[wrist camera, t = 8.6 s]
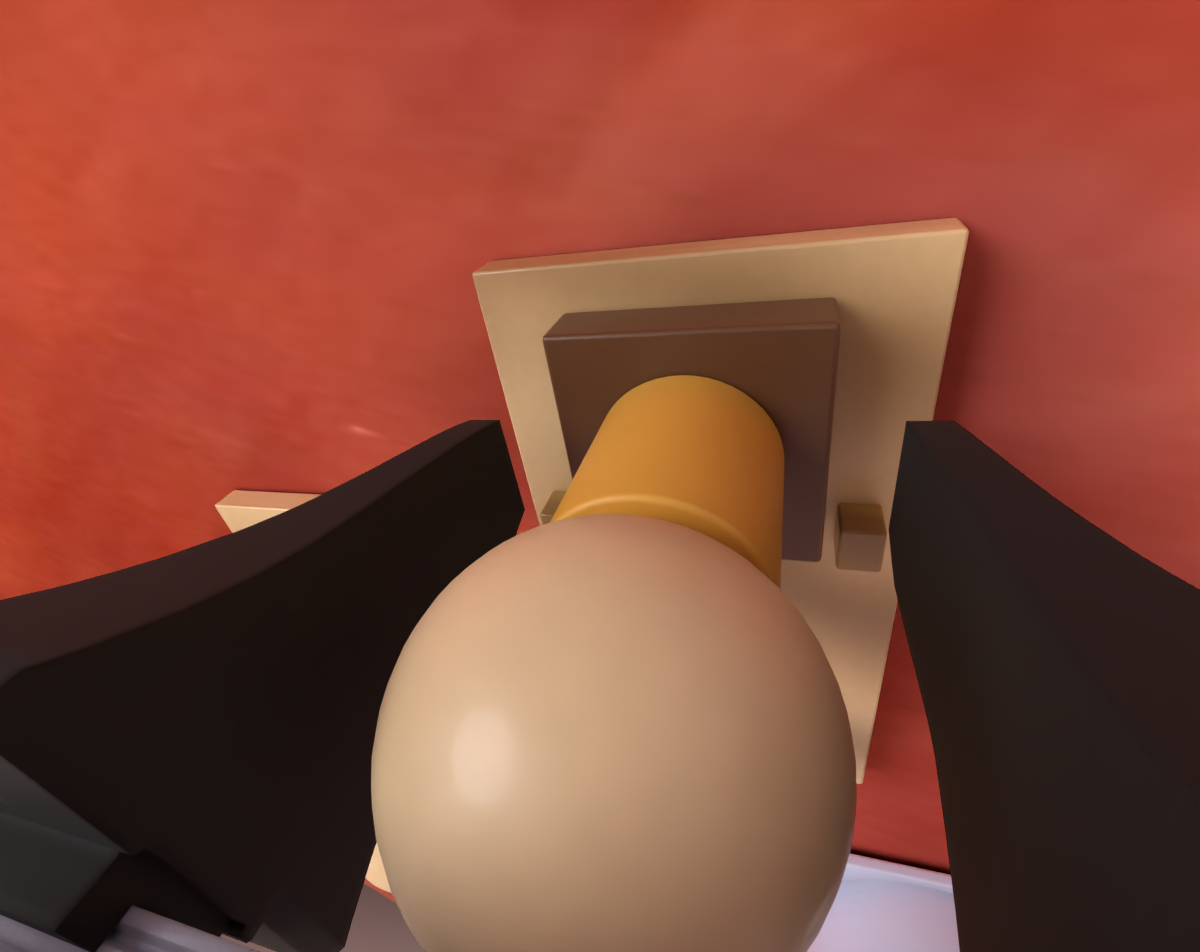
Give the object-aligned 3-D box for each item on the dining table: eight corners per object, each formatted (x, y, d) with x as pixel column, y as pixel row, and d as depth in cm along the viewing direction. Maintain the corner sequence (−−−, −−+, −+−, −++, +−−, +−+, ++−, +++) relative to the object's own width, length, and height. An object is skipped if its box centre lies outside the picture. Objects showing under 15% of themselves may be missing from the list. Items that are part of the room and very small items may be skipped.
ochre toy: (850, 1207, 5) (960, 1058, 2) (378, 1026, 6) (109, 807, 4) (819, 523, 12) (837, 294, 9) (600, 512, 13) (562, 311, 10)
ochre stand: (860, 758, 17) (865, 818, 16) (602, 715, 19) (588, 764, 18) (958, 216, 9) (987, 245, 7) (488, 260, 11) (446, 287, 10)
